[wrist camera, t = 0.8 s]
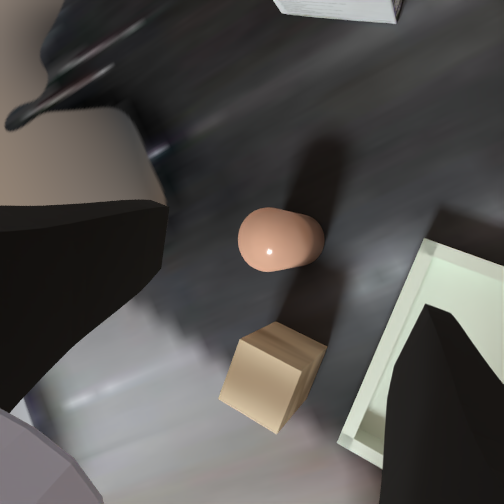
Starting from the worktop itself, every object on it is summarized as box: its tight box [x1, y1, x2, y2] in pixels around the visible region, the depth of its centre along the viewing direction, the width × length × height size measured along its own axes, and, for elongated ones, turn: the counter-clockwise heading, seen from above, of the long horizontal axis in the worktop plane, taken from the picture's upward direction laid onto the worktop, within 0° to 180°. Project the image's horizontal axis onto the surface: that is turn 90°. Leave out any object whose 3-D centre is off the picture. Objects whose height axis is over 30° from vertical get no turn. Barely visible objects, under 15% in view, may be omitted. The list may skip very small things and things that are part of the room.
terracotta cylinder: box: [238, 208, 325, 272], centre depth 26 cm, size 4×4×6 cm
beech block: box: [218, 322, 327, 434], centre depth 27 cm, size 4×4×6 cm
